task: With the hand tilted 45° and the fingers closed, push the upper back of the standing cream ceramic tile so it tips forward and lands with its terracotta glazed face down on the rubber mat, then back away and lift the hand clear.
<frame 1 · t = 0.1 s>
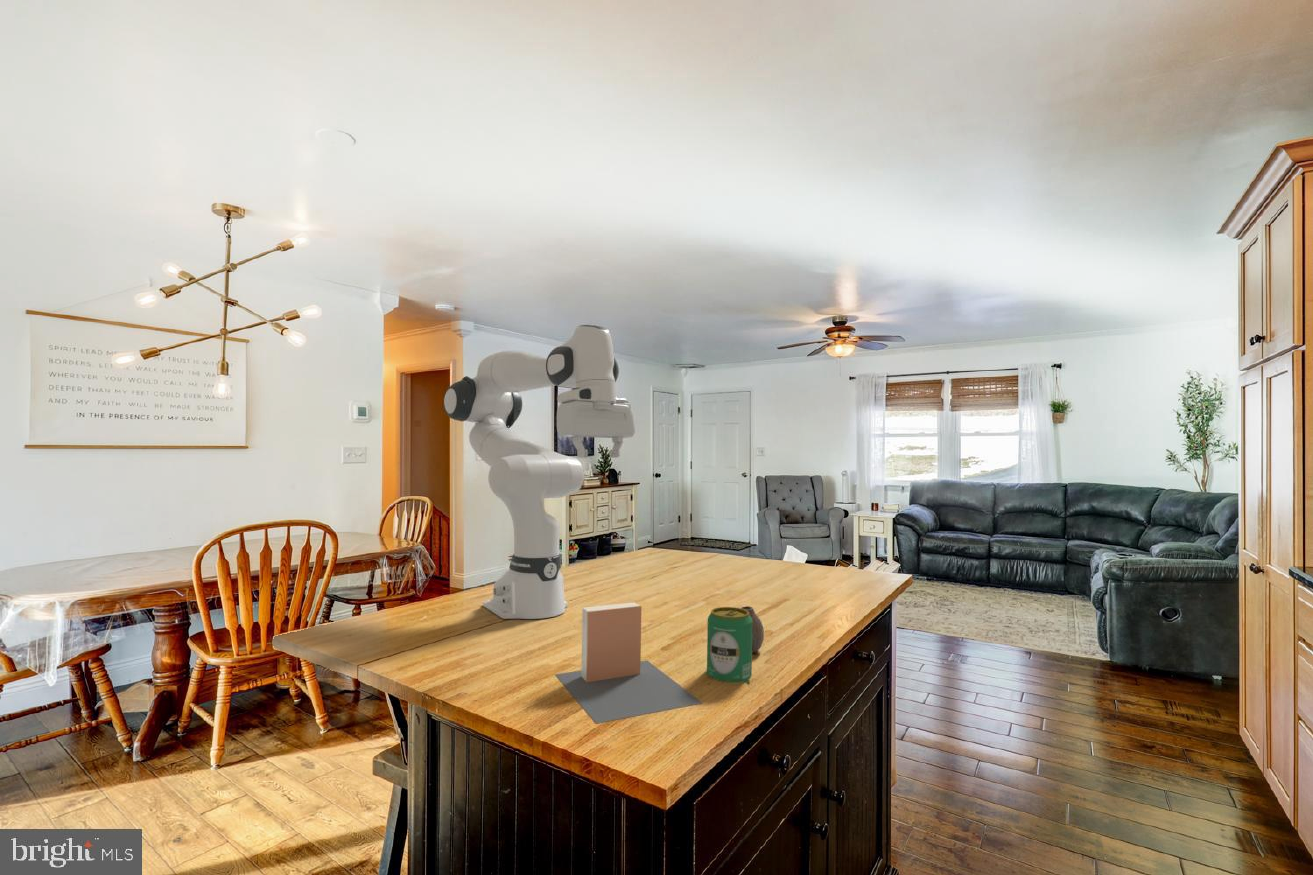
hand: (599, 457, 137), 39 cm above the table, tool pointing down, fingers open, 8 cm apart
vase: (746, 651, 126), on the table
beverage can: (729, 679, 111), on the table
mat: (624, 693, 103), on the table
tile: (610, 674, 109), point 1 cm above the table, touching mat
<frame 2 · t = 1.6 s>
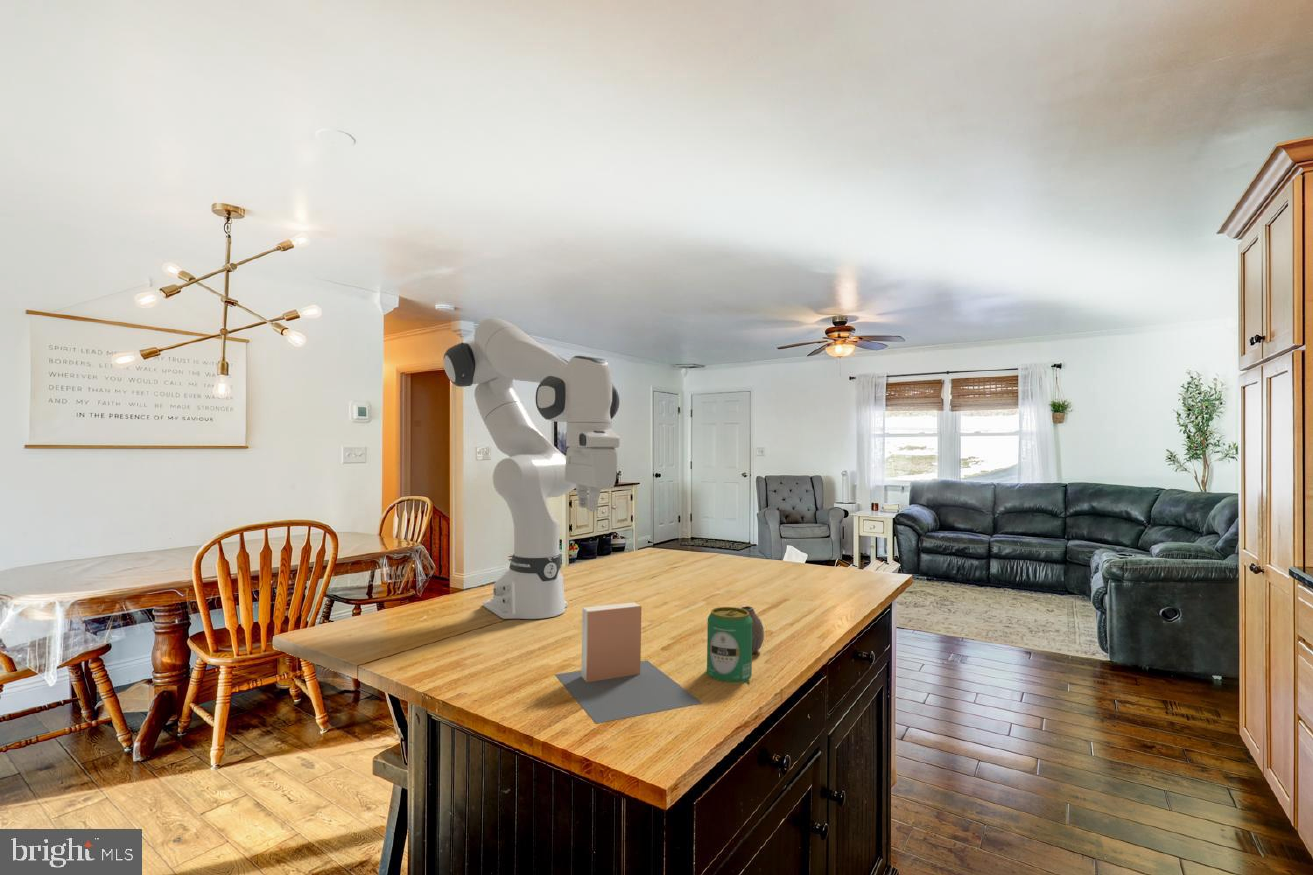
hand: (587, 508, 121), 29 cm above the table, tool pointing down, fingers open, 3 cm apart
nothing on the table moved.
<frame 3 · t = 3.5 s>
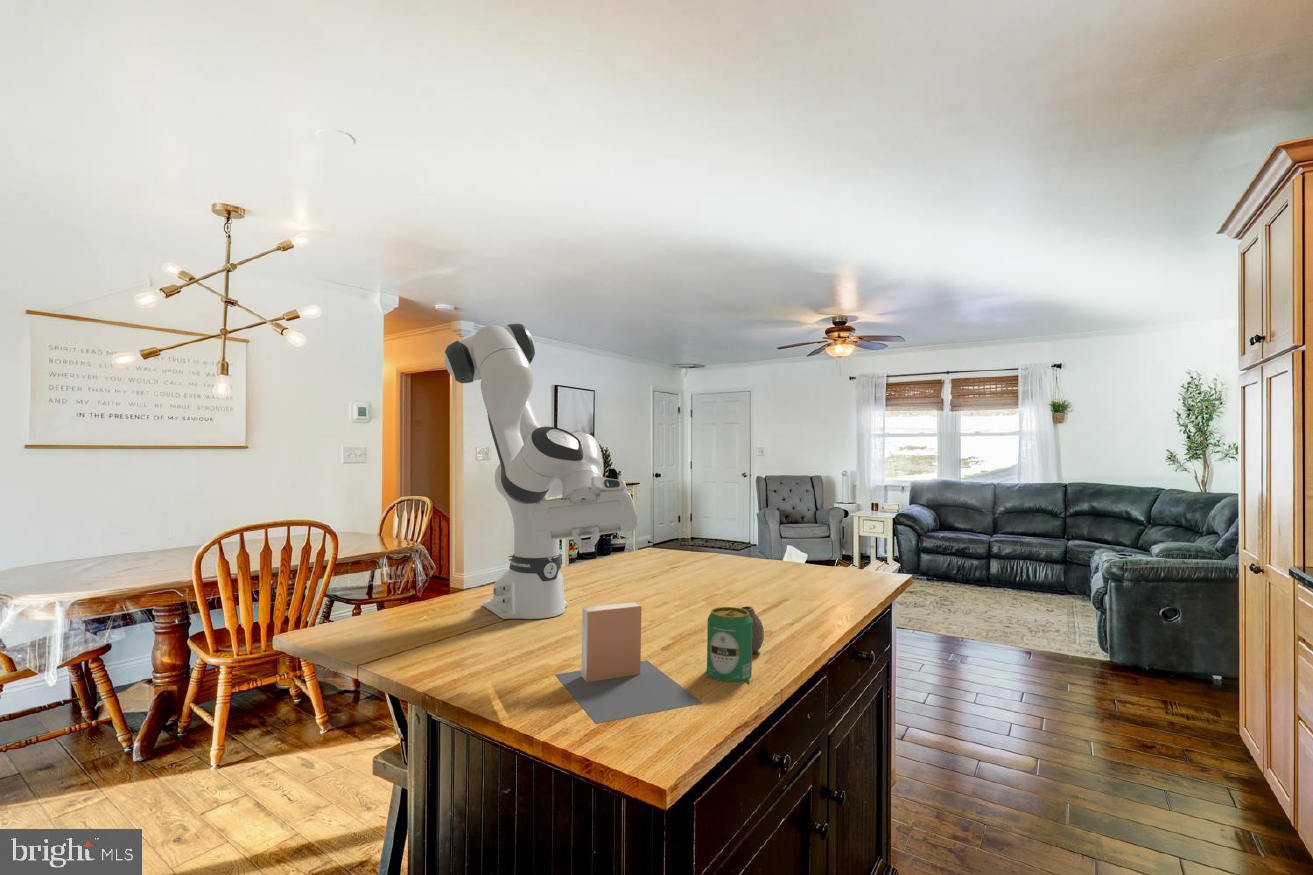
hand: (586, 550, 115), 22 cm above the table, tool tilted 50°, fingers closed
nothing on the table moved.
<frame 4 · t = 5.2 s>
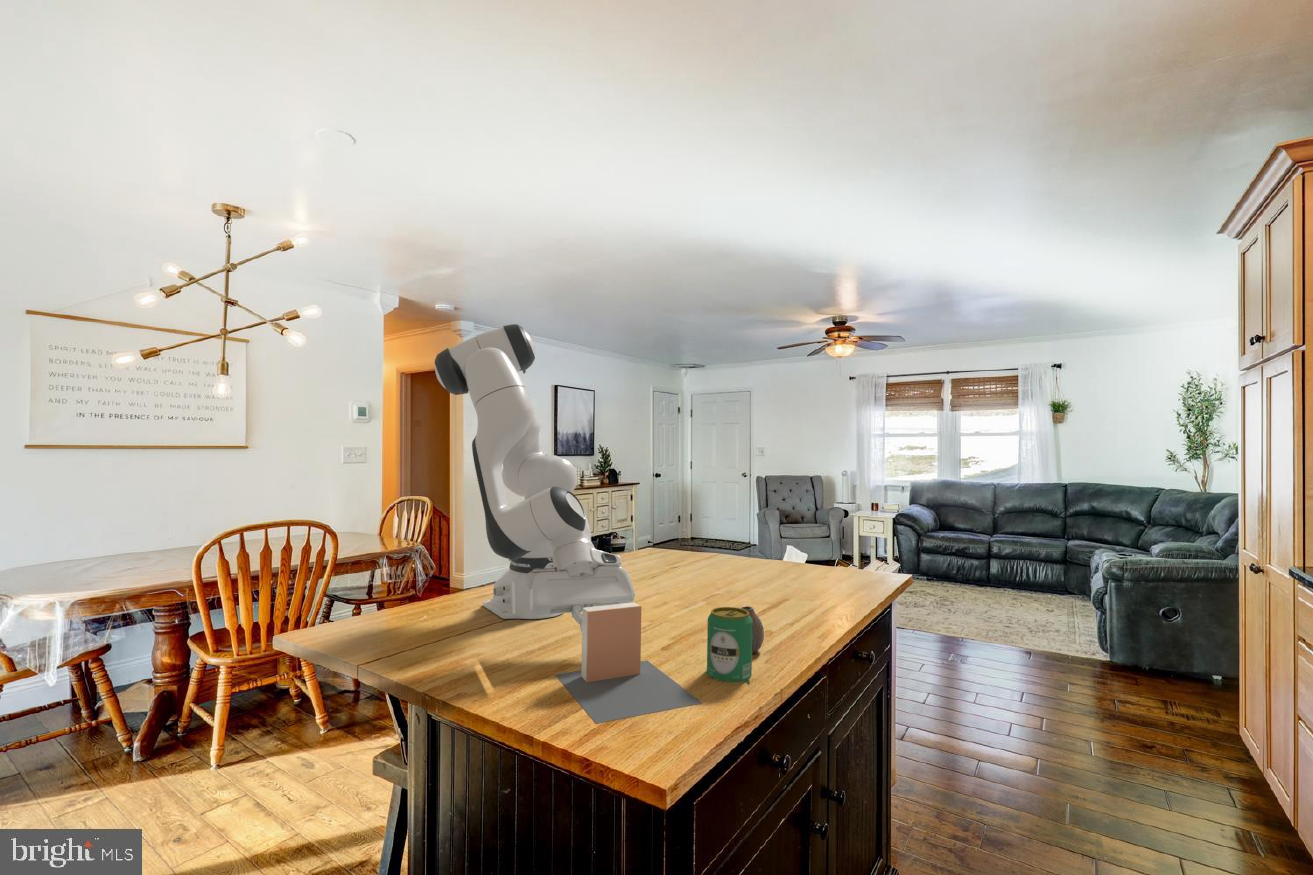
hand: (590, 629, 114), 7 cm above the table, tool tilted 45°, fingers closed
nothing on the table moved.
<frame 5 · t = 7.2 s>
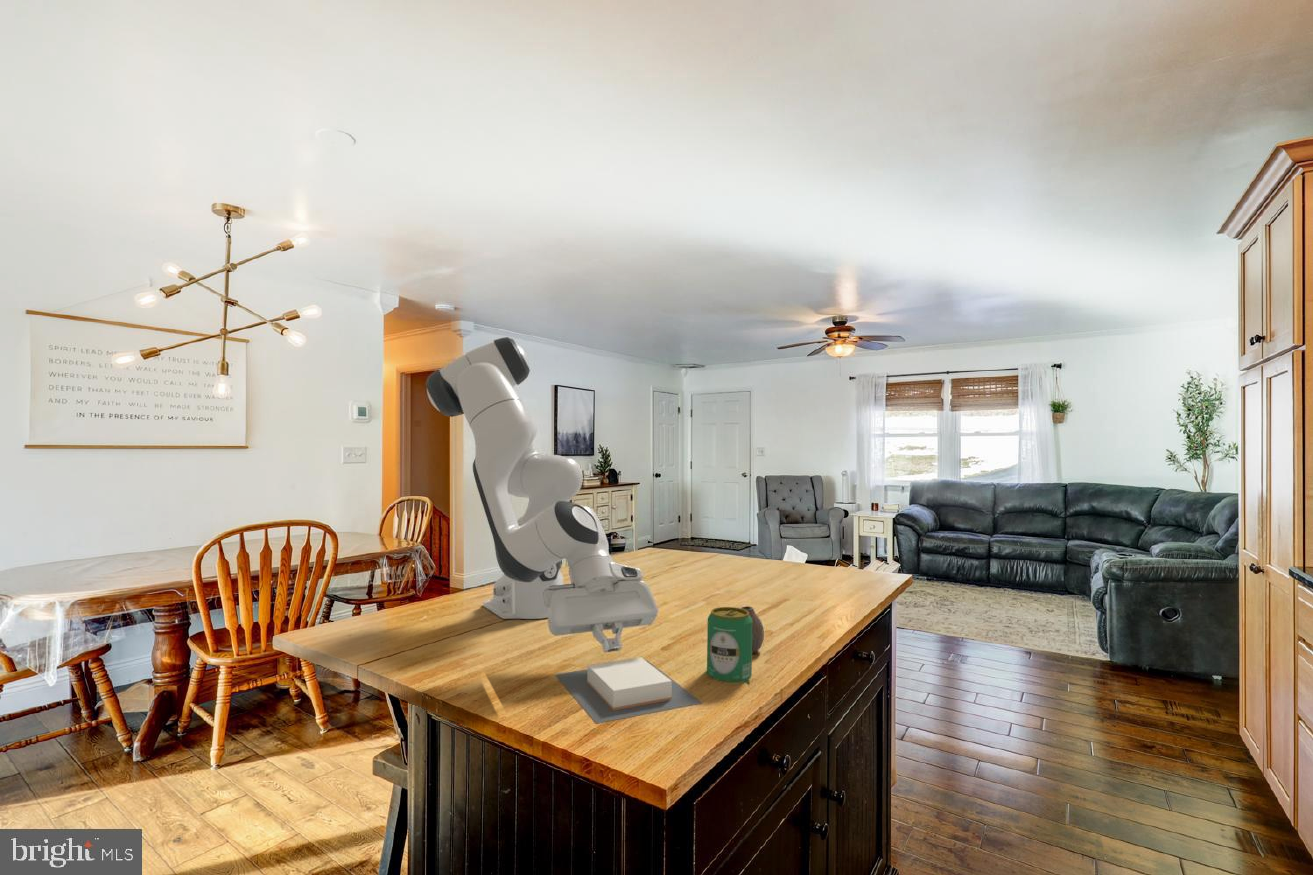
hand: (613, 650, 107), 6 cm above the table, tool tilted 45°, fingers closed
tile: (614, 668, 107), point 3 cm above the table, tilted 90°, touching mat
everything else where it was.
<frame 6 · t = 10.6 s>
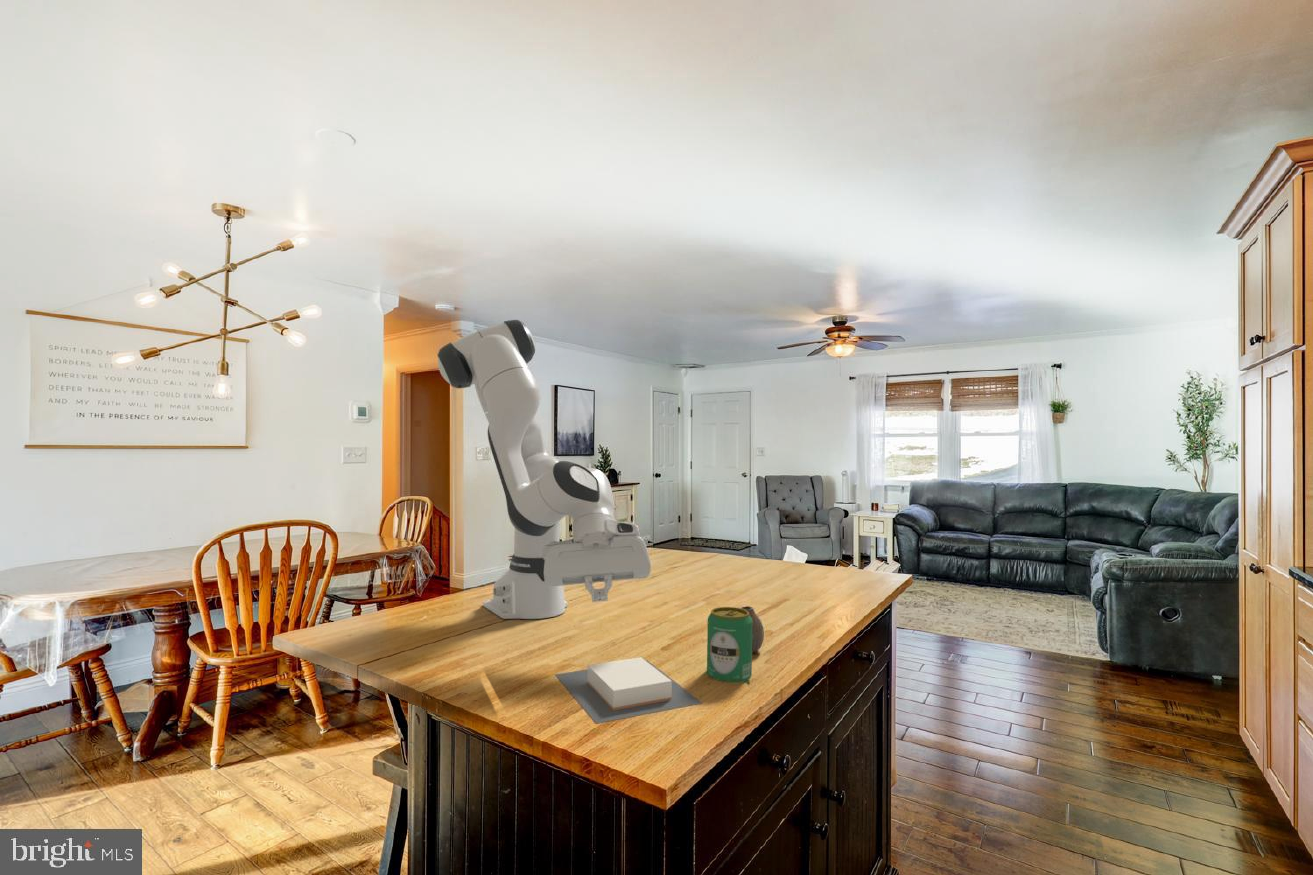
hand: (599, 599, 113), 13 cm above the table, tool tilted 45°, fingers closed
nothing on the table moved.
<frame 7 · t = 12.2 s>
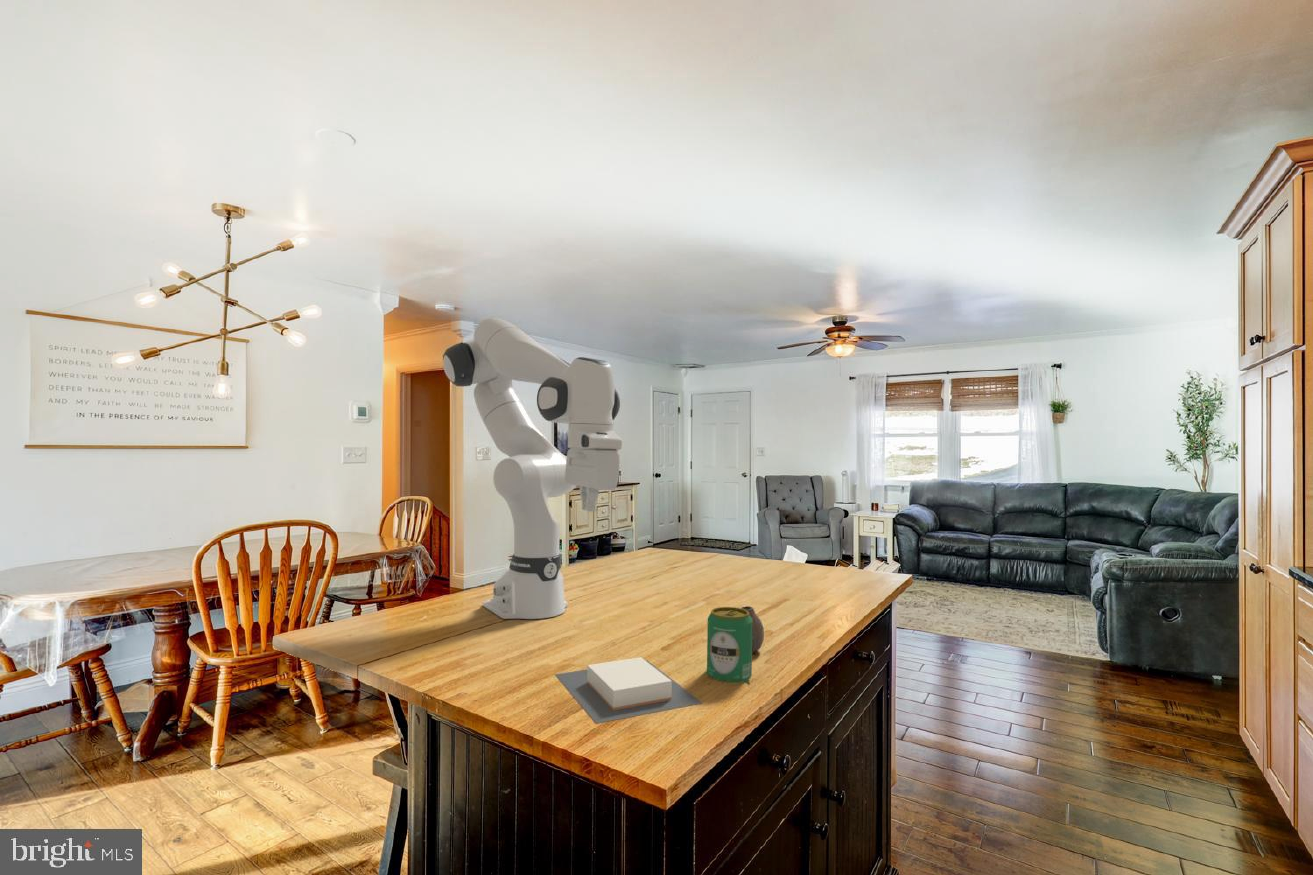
hand: (588, 510, 120), 29 cm above the table, tool pointing down, fingers closed
nothing on the table moved.
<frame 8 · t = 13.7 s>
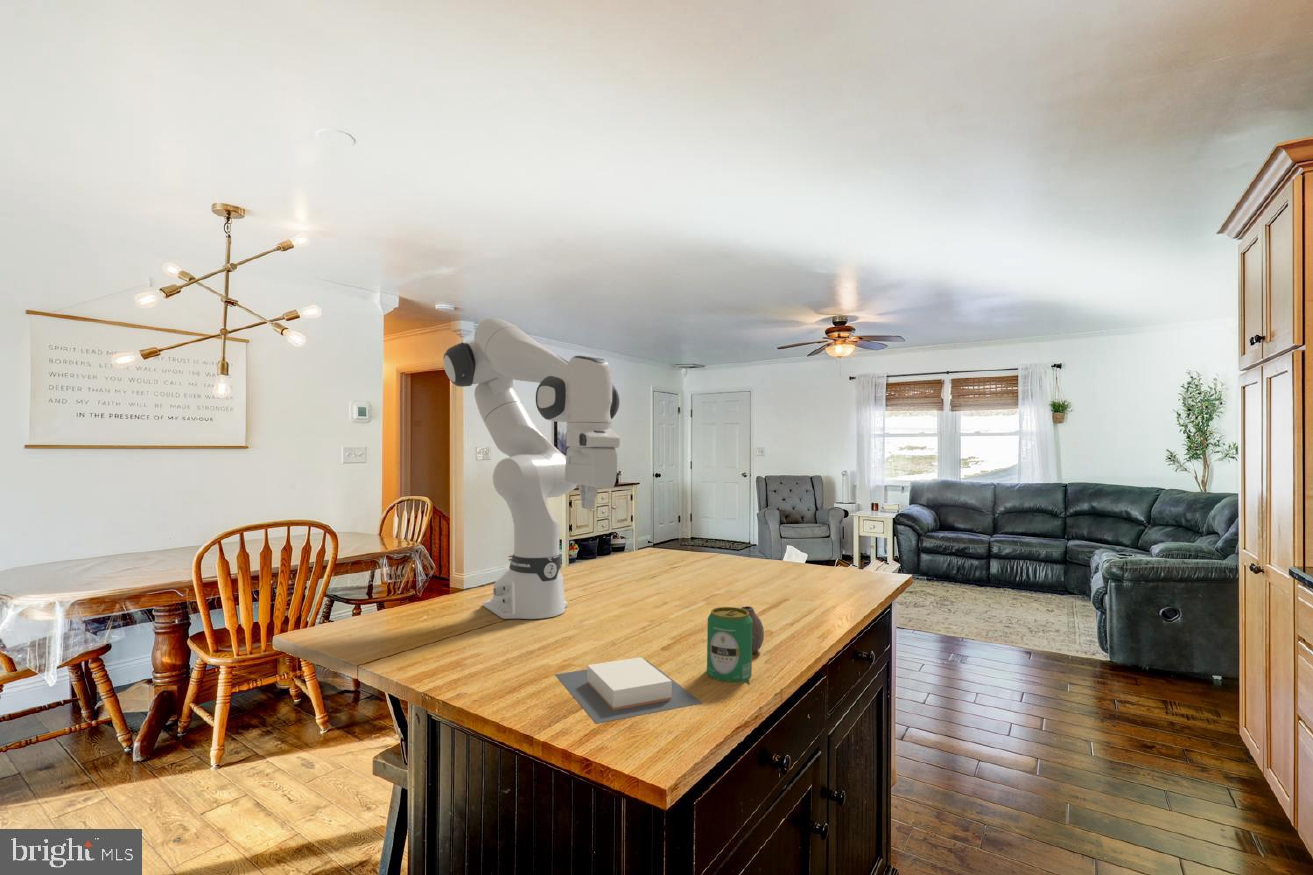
hand: (587, 508, 121), 29 cm above the table, tool pointing down, fingers closed
nothing on the table moved.
at the end: tile tilted 90°; tile inside the target area on the mat (0.2 cm from its centre), point 2.7 cm above the mat's base; tile touching mat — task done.
